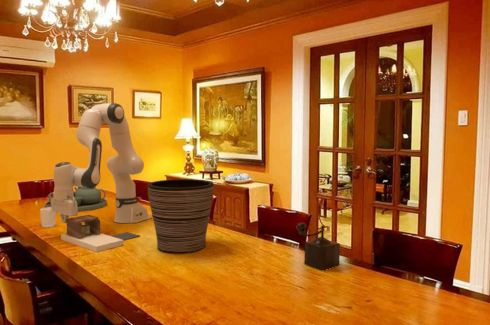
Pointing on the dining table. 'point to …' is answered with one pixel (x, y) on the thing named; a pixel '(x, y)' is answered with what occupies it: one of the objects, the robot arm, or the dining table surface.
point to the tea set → (86, 199)
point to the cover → (76, 226)
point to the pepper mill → (320, 250)
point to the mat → (125, 236)
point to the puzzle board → (94, 241)
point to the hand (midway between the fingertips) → (64, 222)
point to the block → (85, 230)
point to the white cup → (47, 217)
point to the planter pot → (181, 213)
